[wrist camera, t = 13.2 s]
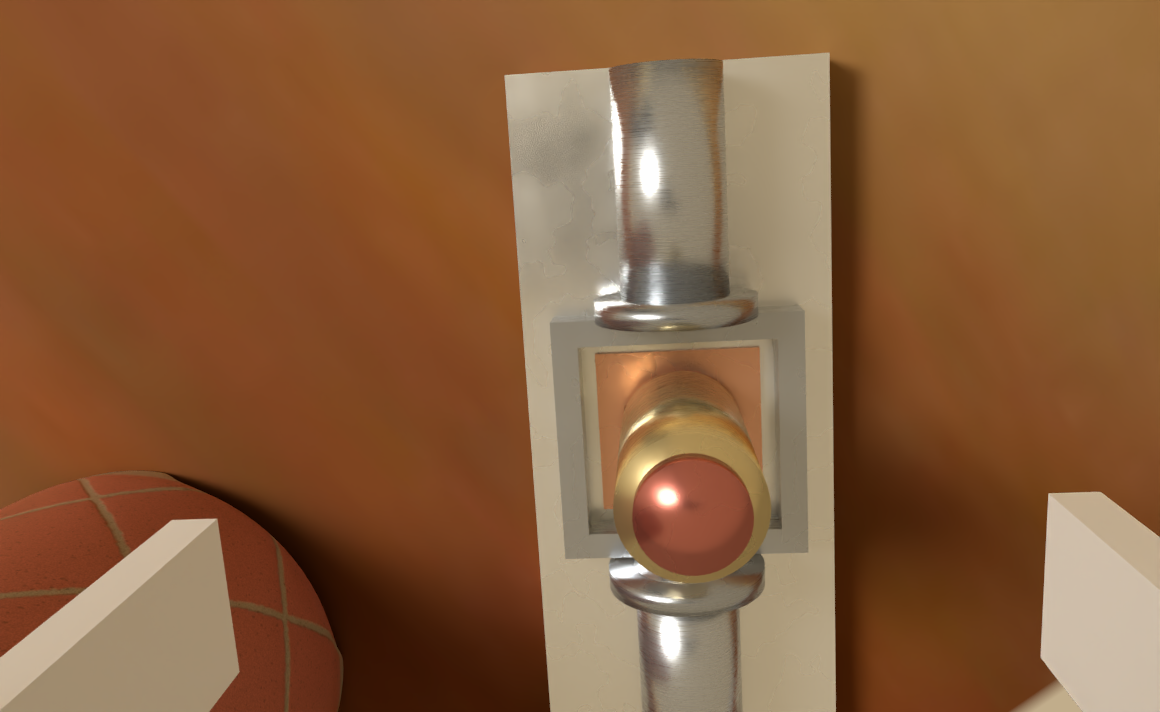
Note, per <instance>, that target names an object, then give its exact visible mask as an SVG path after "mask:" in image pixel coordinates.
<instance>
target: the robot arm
mask: <svg viewBox="0 0 1160 712" xmlns="http://www.w3.org/2000/svg"><path fill="white" fill-rule="evenodd" d="M1041 659H1042V660H1043V661H1044V662H1045V664H1046V665H1047V666H1048V668H1049V669H1050V670H1051V672H1052V673H1053V674H1054V675H1055V677H1056V678H1057V679H1058V681H1059V682H1060V683H1061V685H1062V686H1063V687H1064V688H1065V690H1066V691H1067V692H1068V694H1069V695H1070V696H1071V698H1072V699H1073V700H1074V701H1075V703H1076V704H1077V705H1078V707H1079V708H1080V709H1081V711H1082V712H1160V537H1159V536H1157V535H1156V534H1155V533H1154V532H1152V531H1151V530H1150V529H1148V528H1147V527H1146V526H1144V525H1143V524H1142V523H1140V522H1139V521H1138V520H1137V519H1135V518H1134V517H1133V516H1131V515H1130V514H1129V513H1127V512H1126V511H1125V510H1124V509H1122V508H1121V507H1120V506H1118V505H1117V504H1116V503H1114V502H1113V501H1112V500H1110V499H1109V498H1108V497H1107V496H1105V495H1104V494H1103V493H1101V492H1075V493H1048V513H1047V534H1046V554H1045V575H1044V596H1043V617H1042V638H1041ZM239 672H240V671H239V665H238V658H237V651H236V644H235V637H234V630H233V623H232V616H231V609H230V603H229V596H228V589H227V582H226V575H225V568H224V561H223V554H222V548H221V541H220V534H219V527H218V520H217V519H188V520H171V521H170V522H169V523H168V524H166V525H165V526H164V527H163V528H161V529H160V530H159V531H158V532H156V533H155V534H154V535H153V536H151V537H150V538H149V539H148V540H146V541H145V542H144V543H143V544H141V545H140V546H139V547H138V548H136V549H135V550H134V551H133V552H131V553H130V554H129V555H128V556H126V557H125V558H124V559H123V560H121V561H120V562H119V563H118V564H116V565H115V566H114V567H113V568H111V569H110V570H109V571H108V572H106V573H105V574H104V575H103V576H101V577H100V578H99V579H98V580H96V581H95V582H94V583H93V584H91V585H90V586H89V587H88V588H86V589H85V590H84V591H83V592H81V593H80V594H79V595H78V596H76V597H75V598H74V599H73V600H71V601H70V602H69V603H68V604H66V605H65V606H64V607H63V608H61V609H60V610H59V611H58V612H56V613H55V614H54V615H53V616H51V617H50V618H49V619H48V620H47V621H45V622H44V623H43V624H42V625H40V626H39V627H38V628H37V629H35V630H34V631H33V632H32V633H30V634H29V635H28V636H27V637H25V638H24V639H23V640H22V641H20V642H19V643H18V644H17V645H15V646H14V647H13V648H12V649H10V650H9V651H8V652H7V653H5V654H4V655H3V656H2V657H0V712H209V711H210V710H211V709H212V707H213V706H214V705H215V703H216V702H217V701H218V699H219V698H220V697H221V696H222V694H223V693H224V692H225V690H226V689H227V688H228V686H229V685H230V684H231V682H232V681H233V680H234V679H235V677H236V676H237V675H238V673H239Z"/></svg>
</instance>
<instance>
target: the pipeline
mask: <svg viewBox="0 0 1160 712" xmlns="http://www.w3.org/2000/svg"><path fill="white" fill-rule="evenodd" d="M505 88H506V101H507V115H508V129H509V143H510V157H511V171H512V185H513V198H514V212H515V226H516V240H517V254H518V268H519V282H520V295H521V309H522V323H523V337H524V351H525V365H526V379H527V392H528V406H529V420H530V434H531V448H532V462H533V476H534V489H535V503H536V517H537V531H538V545H539V559H540V573H541V586H542V600H543V614H544V628H545V642H546V656H547V670H548V684H549V697H550V711H551V712H836V665H835V564H834V462H833V360H832V259H831V157H830V55H829V53H818V54H803V55H789V56H775V57H760V58H746V59H731V60H716V59H677V60H662V61H650V62H641V63H633V64H626V65H621V66H616V67H612V68H602V69H588V70H573V71H559V72H544V73H530V74H516V75H505ZM673 371H691V372H697V373H700V374H704V375H706V376H708V377H711V378H712V379H714V380H716V381H717V382H719V383H720V384H721V385H722V386H724V387H725V388H726V389H727V390H728V391H729V393H730V394H731V395H732V397H733V398H734V399H735V401H736V403H737V405H738V407H739V410H740V413H741V415H742V418H743V421H744V423H745V426H746V429H747V432H748V434H749V437H750V440H751V443H752V445H753V448H754V451H755V453H756V456H757V459H758V462H759V464H760V467H761V470H762V473H763V475H764V478H765V481H766V483H767V486H768V490H769V494H770V499H771V519H770V524H769V528H768V531H767V534H766V537H765V539H764V541H763V543H762V545H761V546H760V548H759V549H758V551H757V552H756V554H755V555H754V556H753V557H752V558H751V559H750V560H749V561H748V562H747V563H746V564H745V565H743V566H742V567H741V568H739V569H738V570H736V571H735V572H733V573H731V574H729V575H727V576H725V577H723V578H720V579H717V580H714V581H709V582H704V583H682V582H675V581H671V580H668V579H665V578H662V577H660V576H657V575H655V574H653V573H652V572H650V571H648V570H647V569H645V568H644V567H643V566H641V565H640V564H639V563H638V562H637V561H636V560H635V559H634V558H633V557H632V556H631V555H630V554H629V552H628V551H627V550H626V549H625V547H624V545H623V543H622V542H621V540H620V537H619V535H618V533H617V530H616V526H615V522H614V514H613V501H614V492H615V482H616V472H617V463H618V453H619V443H620V434H621V424H622V418H623V414H624V411H625V408H626V406H627V404H628V402H629V400H630V399H631V397H632V396H633V394H634V393H635V392H636V391H637V390H638V389H639V388H640V387H641V386H642V385H643V384H644V383H646V382H647V381H649V380H650V379H652V378H654V377H656V376H658V375H661V374H664V373H668V372H673Z"/></svg>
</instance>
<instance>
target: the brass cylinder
mask: <svg viewBox="0 0 1160 712" xmlns="http://www.w3.org/2000/svg"><path fill="white" fill-rule="evenodd" d="M613 514H614V522H615V526H616V530H617V533H618V535H619V537H620V540H621V542H622V543H623V545H624V547H625V549H626V550H627V551H628V552H629V554H630V555H631V556H632V557H633V558H634V559H635V560H636V561H637V562H638V563H639V564H640V565H641V566H643V567H644V568H645V569H647V570H648V571H650V572H652V573H653V574H655V575H657V576H660V577H662V578H665V579H668V580H671V581H675V582H682V583H704V582H709V581H714V580H717V579H720V578H723V577H725V576H727V575H729V574H731V573H733V572H735V571H736V570H738V569H739V568H741V567H742V566H743V565H745V564H746V563H747V562H748V561H749V560H750V559H751V558H752V557H753V556H754V555H755V554H756V552H757V551H758V549H759V548H760V546H761V545H762V543H763V541H764V539H765V537H766V534H767V531H768V528H769V524H770V519H771V499H770V494H769V490H768V486H767V483H766V481H765V478H764V475H763V473H762V470H761V467H760V464H759V462H758V459H757V456H756V453H755V451H754V448H753V445H752V443H751V440H750V437H749V434H748V432H747V429H746V426H745V423H744V421H743V418H742V415H741V413H740V410H739V407H738V405H737V403H736V401H735V399H734V398H733V397H732V395H731V394H730V393H729V391H728V390H727V389H726V388H725V387H724V386H722V385H721V384H720V383H719V382H717V381H716V380H714V379H712V378H711V377H708V376H706V375H704V374H700V373H697V372H691V371H673V372H668V373H664V374H661V375H658V376H656V377H654V378H652V379H650V380H649V381H647V382H646V383H644V384H643V385H642V386H641V387H640V388H639V389H638V390H637V391H636V392H635V393H634V394H633V396H632V397H631V399H630V400H629V402H628V404H627V406H626V408H625V411H624V414H623V418H622V424H621V434H620V443H619V453H618V463H617V472H616V482H615V492H614V501H613Z"/></svg>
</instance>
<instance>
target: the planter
mask: <svg viewBox="0 0 1160 712" xmlns="http://www.w3.org/2000/svg"><path fill="white" fill-rule="evenodd" d="M188 519H217V520H218V527H219V534H220V541H221V548H222V554H223V561H224V568H225V575H226V582H227V589H228V596H229V603H230V609H231V616H232V623H233V630H234V637H235V644H236V651H237V658H238V665H239V671H240V672H239V673H238V675H237V676H236V677H235V679H234V680H233V681H232V682H231V684H230V685H229V686H228V688H227V689H226V690H225V692H224V693H223V694H222V696H221V697H220V698H219V699H218V701H217V702H216V703H215V705H214V706H213V707H212V709H211V710H210V711H209V712H338V709H339V705H340V700H341V694H342V685H343V670H344V669H343V658H342V655H341V653H340V651H339V650H338V648H337V645H336V642H335V639H334V636H333V633H332V630H331V627H330V624H329V621H328V619H327V616H326V614H325V611H324V609H323V607H322V604H321V602H320V600H319V598H318V596H317V594H316V592H315V590H314V589H313V587H312V585H311V583H310V582H309V580H308V579H307V577H306V575H305V574H304V572H303V571H302V569H301V568H300V567H299V566H298V564H297V563H296V562H295V560H294V559H293V558H292V557H291V555H290V554H289V553H288V552H287V551H286V550H285V549H284V547H283V546H282V545H281V544H280V543H279V542H278V541H277V540H276V539H275V538H274V537H273V536H272V535H271V534H269V533H268V532H267V531H266V530H265V529H264V528H262V527H261V526H260V525H259V524H258V523H256V522H255V521H254V520H252V519H251V518H249V517H248V516H247V515H245V514H244V513H242V512H241V511H239V510H237V509H236V508H234V507H233V506H231V505H229V504H227V503H225V502H224V501H222V500H220V499H218V498H216V497H214V496H212V495H209V494H207V493H205V492H203V491H201V490H198V489H196V488H194V487H191V486H189V485H186V484H184V483H182V482H179V481H177V480H176V479H174V478H173V477H171V476H170V475H168V474H165V473H162V472H156V471H120V472H110V473H104V474H98V475H94V476H90V477H85V478H81V479H77V480H73V481H70V482H66V483H63V484H59V485H56V486H53V487H50V488H48V489H45V490H42V491H40V492H37V493H34V494H32V495H30V496H28V497H26V498H24V499H21V500H19V501H17V502H15V503H13V504H11V505H9V506H7V507H5V508H2V509H0V657H2V656H3V655H4V654H5V653H7V652H8V651H9V650H10V649H12V648H13V647H14V646H15V645H17V644H18V643H19V642H20V641H22V640H23V639H24V638H25V637H27V636H28V635H29V634H30V633H32V632H33V631H34V630H35V629H37V628H38V627H39V626H40V625H42V624H43V623H44V622H45V621H47V620H48V619H49V618H50V617H51V616H53V615H54V614H55V613H56V612H58V611H59V610H60V609H61V608H63V607H64V606H65V605H66V604H68V603H69V602H70V601H71V600H73V599H74V598H75V597H76V596H78V595H79V594H80V593H81V592H83V591H84V590H85V589H86V588H88V587H89V586H90V585H91V584H93V583H94V582H95V581H96V580H98V579H99V578H100V577H101V576H103V575H104V574H105V573H106V572H108V571H109V570H110V569H111V568H113V567H114V566H115V565H116V564H118V563H119V562H120V561H121V560H123V559H124V558H125V557H126V556H128V555H129V554H130V553H131V552H133V551H134V550H135V549H136V548H138V547H139V546H140V545H141V544H143V543H144V542H145V541H146V540H148V539H149V538H150V537H151V536H153V535H154V534H155V533H156V532H158V531H159V530H160V529H161V528H163V527H164V526H165V525H166V524H168V523H169V522H170V521H171V520H188Z"/></svg>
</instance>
